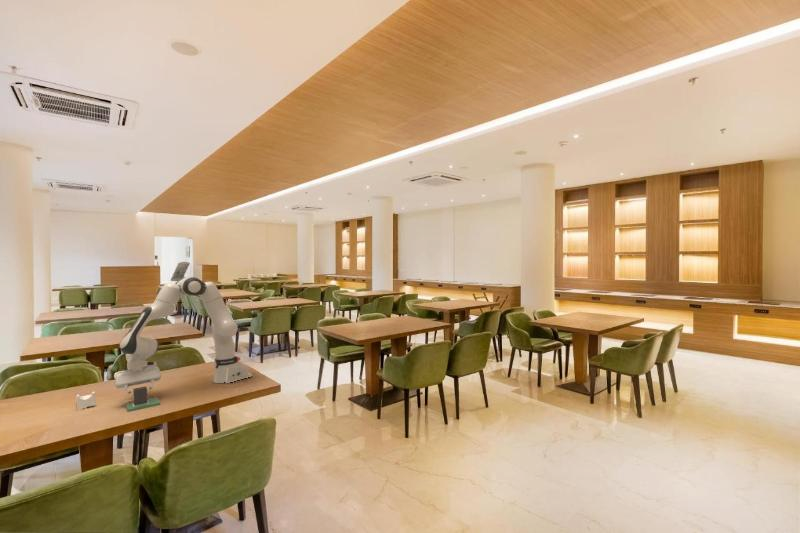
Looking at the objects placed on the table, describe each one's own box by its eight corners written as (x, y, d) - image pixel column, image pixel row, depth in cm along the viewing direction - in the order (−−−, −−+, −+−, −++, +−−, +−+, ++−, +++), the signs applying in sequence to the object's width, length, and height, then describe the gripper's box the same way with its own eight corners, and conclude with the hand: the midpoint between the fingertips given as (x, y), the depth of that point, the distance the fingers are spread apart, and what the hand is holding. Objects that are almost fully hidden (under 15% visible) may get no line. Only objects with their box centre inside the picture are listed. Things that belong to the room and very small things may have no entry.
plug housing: (146, 401, 202) (146, 386, 202) (147, 403, 199) (146, 387, 199) (133, 403, 199) (133, 388, 198) (134, 405, 196) (133, 390, 196)
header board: (156, 398, 208) (156, 391, 208) (160, 404, 200) (159, 397, 200) (125, 405, 199) (125, 398, 199) (127, 411, 191) (127, 404, 191)
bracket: (95, 407, 199) (94, 392, 199) (77, 410, 194) (76, 396, 194) (93, 400, 209) (93, 386, 208) (76, 403, 204) (76, 389, 204)
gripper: (113, 369, 199) (115, 392, 191) (159, 361, 212) (163, 382, 205) (113, 375, 202) (115, 398, 195) (158, 367, 215) (162, 388, 208)
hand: (140, 390), depth 200 cm, fingers open, 8 cm apart
